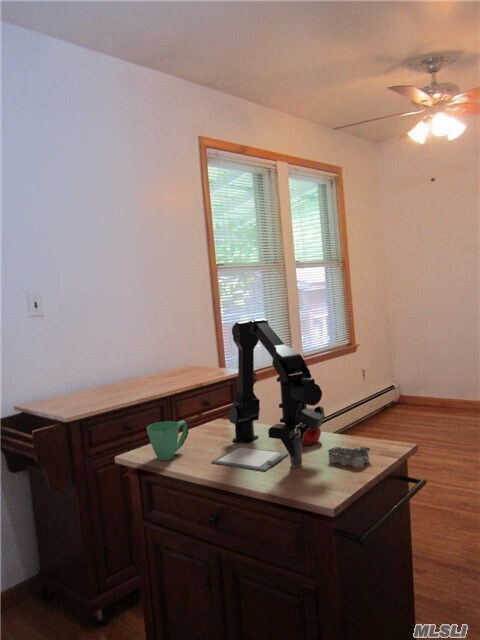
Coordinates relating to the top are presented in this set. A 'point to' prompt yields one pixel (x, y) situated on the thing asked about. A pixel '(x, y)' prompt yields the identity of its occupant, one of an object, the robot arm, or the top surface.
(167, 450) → the mug
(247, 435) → the robot arm
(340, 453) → the egg carton
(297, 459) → the marker
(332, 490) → the top surface
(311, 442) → the pomegranate
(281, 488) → the top surface
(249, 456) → the whiteboard
